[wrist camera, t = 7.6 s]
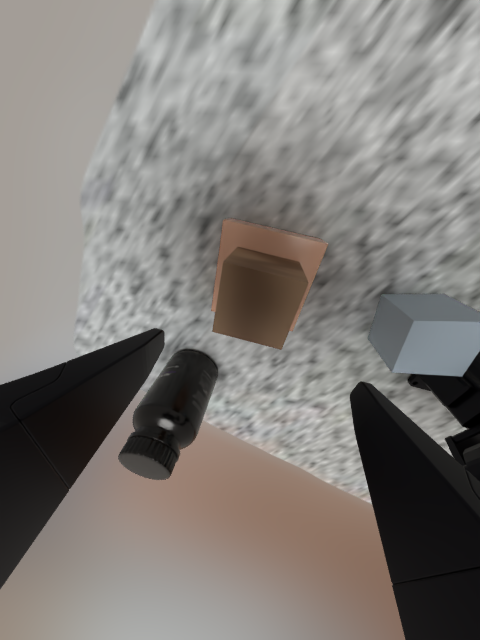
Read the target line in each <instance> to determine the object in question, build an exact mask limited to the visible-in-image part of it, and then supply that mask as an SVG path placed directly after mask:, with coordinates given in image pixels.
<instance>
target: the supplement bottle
mask: <svg viewBox="0 0 480 640" xmlns="http://www.w3.org/2000/svg"><path fill="white" fill-rule="evenodd" d="M216 380H217V369H216V367H215V365H214V363H213V362H212V361H211V360H210V359H209V358H208V357H207V356H205V355H203V354H201V353H199V352H196V351H188V350H187V351H181V352H178V353H176V354H175V355H174V356H173V357H172V358H171V359H170V360H169V362H168V363H167V365H166V366H165V367H164V369H163V370H162V372H161V373H160V375H159V376H158V378H157V379H156V380H155V382H154V383H153V385H152V386H151V388H150V389H149V390H148V392H147V393H146V395H145V396H144V398H143V399H142V401H141V402H140V403H139V405H138V406H137V408H136V410H135V411H134V414H133V427H134V429H135V432H133V433H131V435H130V436H129V438H128V440H127V442H126V444H125V446H124V447H123V449H122V450H121V452H120V454H119V456H118V459H119V461H120V462H121V464H122V465H123V466H124V467H126V468H127V469H128V470H130V471H131V472H133V473H135V474H138V475H140V476H143V477H145V478H149V479H154V480H166V479H168V478H169V477H170V476H171V474H172V471H173V468H174V466H175V463H176V462H177V461H178V458H179V456H180V449H183V448H186V447H187V446H189V445H190V444H191V443H192V442H193V441H194V440H195V438H196V436H197V434H198V431H199V428H200V425H201V423H202V420H203V417H204V414H205V411H206V409H207V406H208V403H209V400H210V397H211V394H212V392H213V389H214V386H215V383H216Z"/></svg>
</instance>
